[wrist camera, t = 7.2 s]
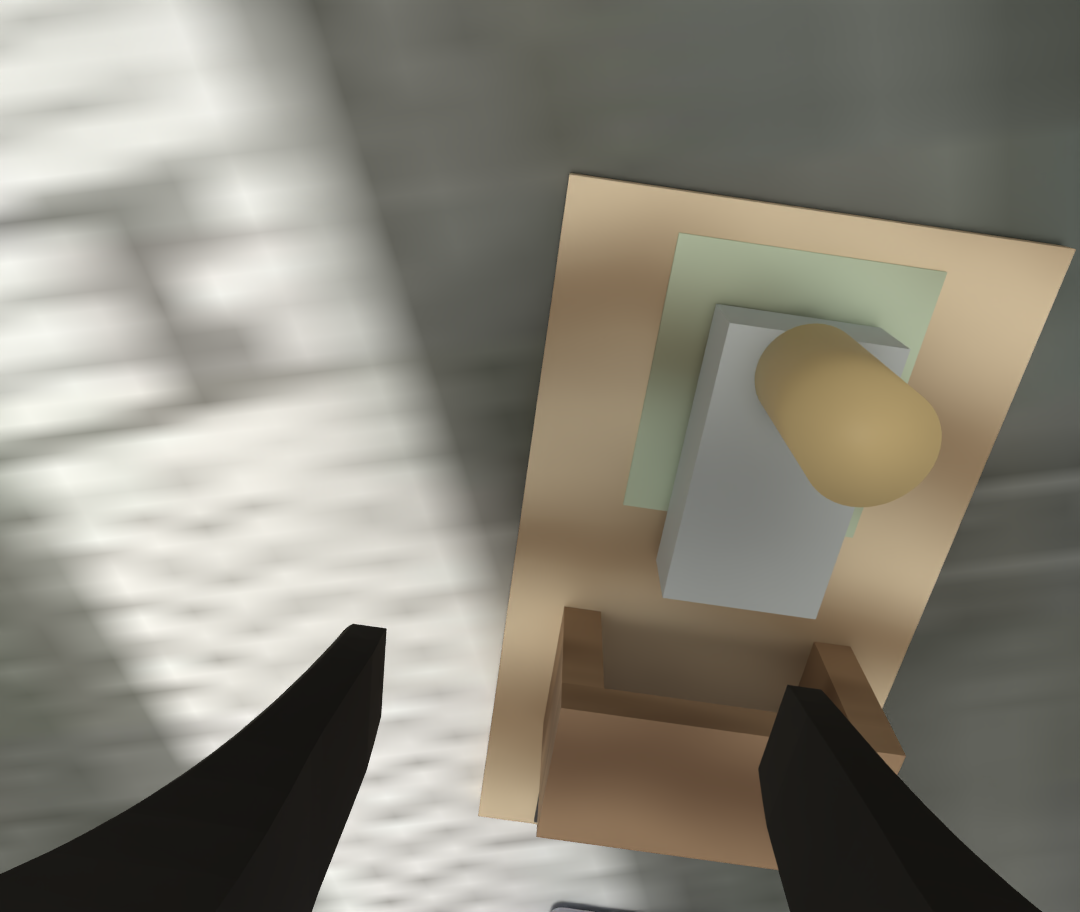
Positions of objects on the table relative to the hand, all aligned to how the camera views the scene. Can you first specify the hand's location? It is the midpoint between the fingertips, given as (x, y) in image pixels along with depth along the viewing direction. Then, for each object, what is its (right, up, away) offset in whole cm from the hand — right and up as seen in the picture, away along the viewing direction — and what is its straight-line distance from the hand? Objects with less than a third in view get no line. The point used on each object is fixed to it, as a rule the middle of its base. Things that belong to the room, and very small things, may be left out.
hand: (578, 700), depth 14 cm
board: (+5, 0, +11) cm, 12 cm away
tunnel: (+4, -3, +12) cm, 13 cm away
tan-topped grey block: (+6, +5, +8) cm, 11 cm away
